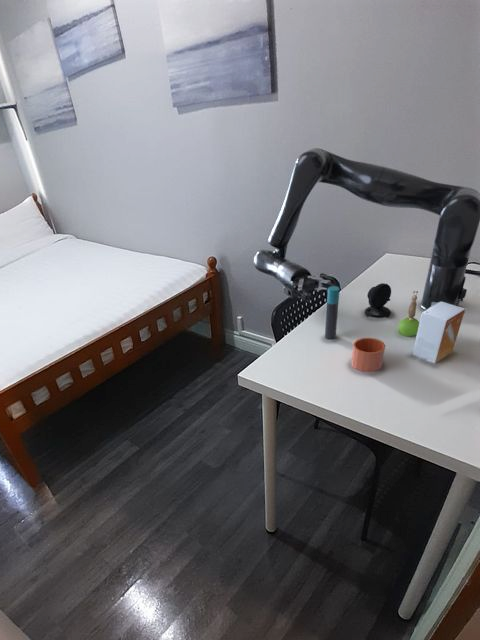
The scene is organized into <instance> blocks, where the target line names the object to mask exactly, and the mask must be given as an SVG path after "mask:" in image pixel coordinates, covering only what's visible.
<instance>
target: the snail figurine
mask: <svg viewBox="0 0 480 640" xmlns="http://www.w3.org/2000/svg"><path fill="white" fill-rule="evenodd" d="M412 293H413V295H412V296H411V302H410V304H409V307H408V317H405V318H403V319H402V320H401V321H400V322H399V324H398V326H397V329H398V332H399V334H401V335H402V336H403V337H407V338H410V337H415V336H417V332H418V327H419V323H420V320H418V319H417V318H415V316H416V311H417V300H418V293H419V291H418V290H413V291H412Z"/></svg>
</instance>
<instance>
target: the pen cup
mask: <svg viewBox="0 0 480 640" xmlns="http://www.w3.org/2000/svg"><path fill="white" fill-rule="evenodd" d="M385 351H386V343H385V342H384V341H382V340H380V339H378V338H375V337H361V338H358V339H356V340H355V341H354V342H353V345H352V352H351V362H350V364H351V366H352V368H354V369H355V370H357V371H360V372H362V373H374V372H377V371H379V370H381V369H382V368H383V362H384V358H385Z"/></svg>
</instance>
